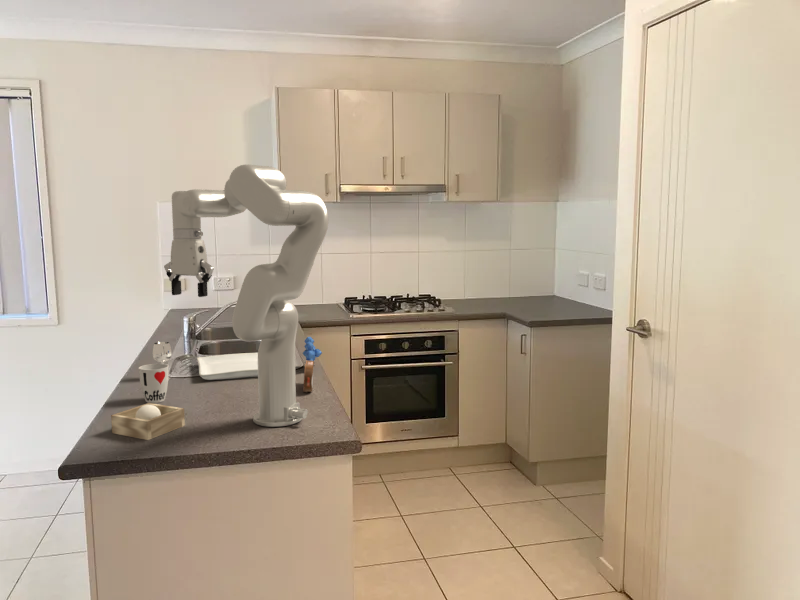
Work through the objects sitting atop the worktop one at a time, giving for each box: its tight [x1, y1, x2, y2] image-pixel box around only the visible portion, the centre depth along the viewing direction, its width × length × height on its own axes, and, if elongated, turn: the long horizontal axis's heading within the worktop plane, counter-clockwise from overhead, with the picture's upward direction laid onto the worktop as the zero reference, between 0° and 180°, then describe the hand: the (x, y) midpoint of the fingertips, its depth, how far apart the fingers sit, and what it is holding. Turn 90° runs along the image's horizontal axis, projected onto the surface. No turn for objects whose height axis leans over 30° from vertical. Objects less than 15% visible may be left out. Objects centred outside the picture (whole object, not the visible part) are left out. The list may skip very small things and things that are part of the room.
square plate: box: [196, 352, 258, 381], centre depth 225 cm, size 27×27×4 cm
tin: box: [302, 359, 315, 393], centre depth 201 cm, size 15×3×8 cm, turn 6°
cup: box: [138, 363, 170, 404], centre depth 188 cm, size 8×8×10 cm
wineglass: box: [152, 341, 172, 381], centre depth 213 cm, size 6×6×12 cm
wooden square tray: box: [110, 402, 186, 441], centre depth 162 cm, size 12×12×4 cm
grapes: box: [302, 336, 323, 367], centre depth 226 cm, size 12×7×12 cm, turn 8°
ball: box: [135, 404, 161, 420], centre depth 162 cm, size 6×6×6 cm
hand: (189, 295), depth 186 cm, fingers open, 9 cm apart
